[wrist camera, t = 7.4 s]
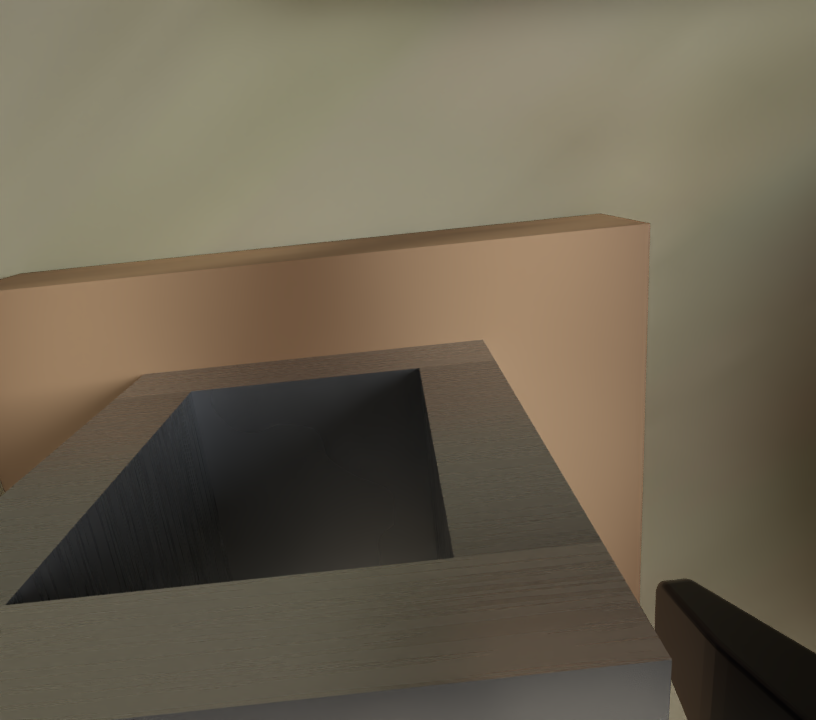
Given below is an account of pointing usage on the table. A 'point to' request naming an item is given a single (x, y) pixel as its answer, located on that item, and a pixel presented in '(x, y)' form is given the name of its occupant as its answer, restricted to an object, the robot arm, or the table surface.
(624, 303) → the stand
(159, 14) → the table surface
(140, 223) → the table surface
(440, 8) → the table surface
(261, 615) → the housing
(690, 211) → the table surface
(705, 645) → the robot arm
